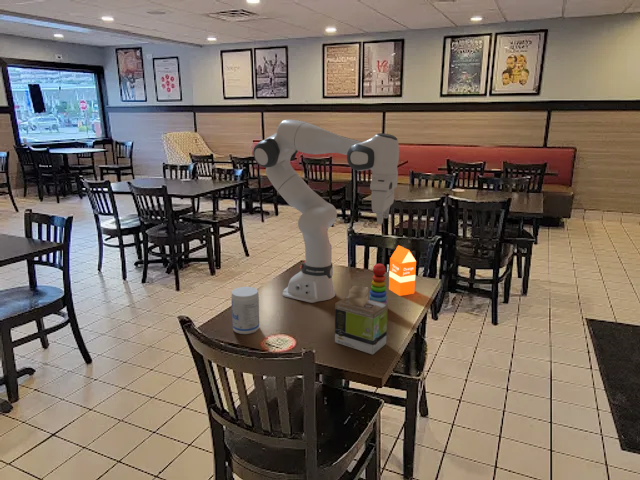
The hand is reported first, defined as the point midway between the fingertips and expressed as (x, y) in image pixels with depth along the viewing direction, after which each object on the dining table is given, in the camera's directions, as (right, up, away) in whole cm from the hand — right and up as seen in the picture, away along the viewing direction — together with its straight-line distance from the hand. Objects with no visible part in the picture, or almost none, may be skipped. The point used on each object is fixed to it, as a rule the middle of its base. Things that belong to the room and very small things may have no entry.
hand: (382, 220), depth 161 cm
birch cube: (-10, -28, -11) cm, 31 cm away
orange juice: (+14, -29, +39) cm, 50 cm away
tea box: (-9, -42, -7) cm, 44 cm away
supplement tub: (-49, -39, +3) cm, 63 cm away
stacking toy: (+1, -35, +20) cm, 40 cm away
